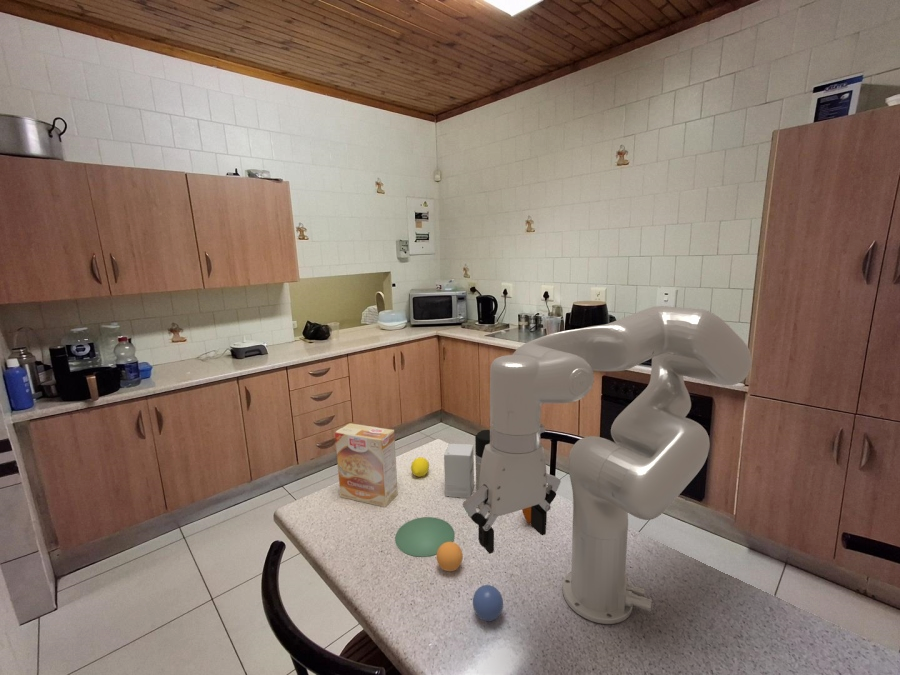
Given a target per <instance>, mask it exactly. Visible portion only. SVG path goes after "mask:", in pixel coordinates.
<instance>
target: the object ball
mask: <svg viewBox="0 0 900 675" xmlns="http://www.w3.org/2000/svg"><path fill="white" fill-rule="evenodd" d="M463 555H464V554H463V550H462V549H461V547H460V545H458V544H457V543H456V542H454V541H453V542H445V543H443V544H442V545H441V546H440V547H439V549H438V551H437V555H436V561H437V564H438V566H439V567H440V568H441V570H443V571H446V572H455V571H456V570H457V569H458V568H459V567H460V566H461V565H462V562H463V557H464V556H463Z"/></svg>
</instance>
